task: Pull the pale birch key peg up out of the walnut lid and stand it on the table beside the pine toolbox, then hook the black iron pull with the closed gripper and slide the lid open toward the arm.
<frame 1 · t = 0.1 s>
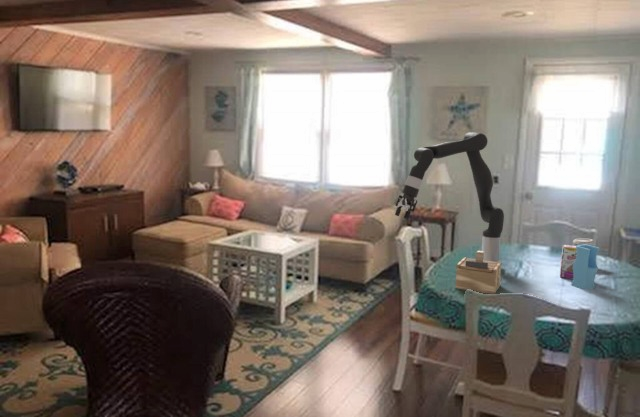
hand: (401, 217, 272), 31 cm above the table, tool tilted 20°, fingers open, 8 cm apart
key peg: (478, 272, 264), point 7 cm above the table, touching toolbox
toolbox: (477, 286, 265), on the table
toolbox lid: (479, 262, 263), point 12 cm above the table, slide at 0.0 cm
candy bar box: (571, 278, 281), on the table
light-blue file holder: (583, 286, 267), on the table
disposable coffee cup: (581, 265, 303), on the table
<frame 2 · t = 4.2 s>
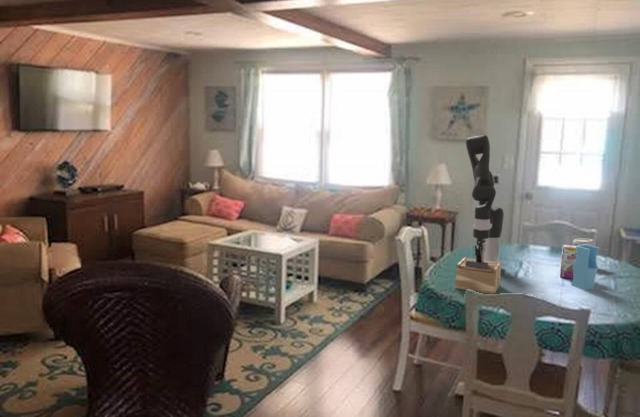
hand: (479, 262, 263), 12 cm above the table, tool pointing down, fingers closed on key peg, 3 cm apart
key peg: (479, 272, 264), point 7 cm above the table, touching gripper, toolbox
everything else where it was.
when the fingers open (6 cm above the table, at t = 10.5 s): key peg drops 5 cm and tips over, point 1 cm above the table.
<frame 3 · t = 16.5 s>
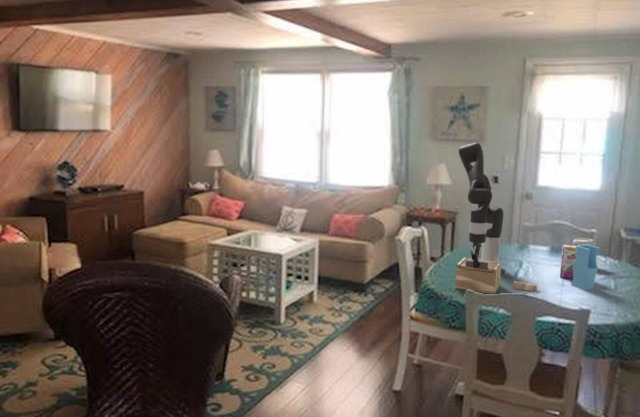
hand: (475, 267, 255), 12 cm above the table, tool pointing down, fingers closed
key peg: (536, 288, 260), point 1 cm above the table, tilted 90°
toolbox lid: (479, 262, 263), point 12 cm above the table, slide at 0.2 cm, touching gripper
everything else where it was.
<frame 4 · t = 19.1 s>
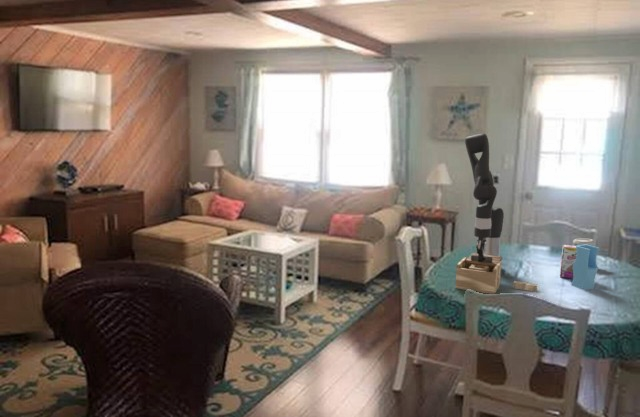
hand: (480, 261, 265), 12 cm above the table, tool pointing down, fingers closed
toolbox lid: (484, 257, 273), point 12 cm above the table, slide at 11.3 cm, touching gripper
everything else where it was.
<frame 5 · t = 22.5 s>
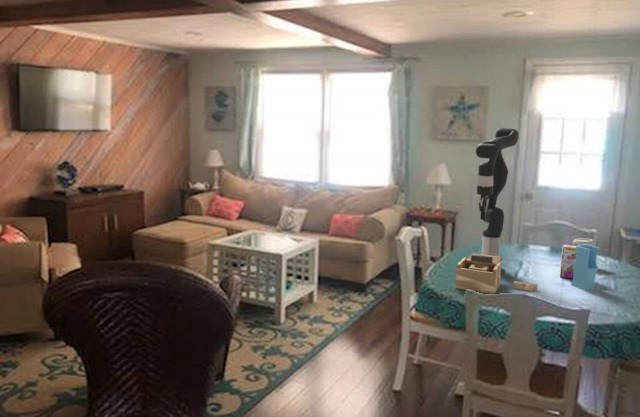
hand: (482, 219, 271), 31 cm above the table, tool pointing down, fingers closed
toolbox lid: (484, 257, 273), point 12 cm above the table, slide at 11.3 cm
everything else where it was.
at the end: toolbox lid slide at 11.3 cm; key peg inside the target area (5.9 cm from its centre), point 1.2 cm above the table; the gripper is holding nothing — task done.
